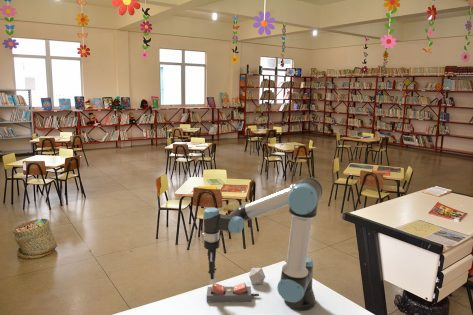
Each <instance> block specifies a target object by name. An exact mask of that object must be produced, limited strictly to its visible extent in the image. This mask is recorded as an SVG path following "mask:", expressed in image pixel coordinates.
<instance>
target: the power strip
mask: <svg viewBox="0 0 473 315" xmlns="http://www.w3.org/2000/svg"><path fill="white" fill-rule="evenodd" d="M246 288H247V291H246V292H243V293H240V294H235V293H234V286H225V289H224V293H223V294H217V293H214V292H211V290H212V286H207V290H206V302H207V303H246V302H247V303H249V302H250V303H251V302H252V297H259V296H260V293H252V286H247V285H246Z"/></svg>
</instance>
